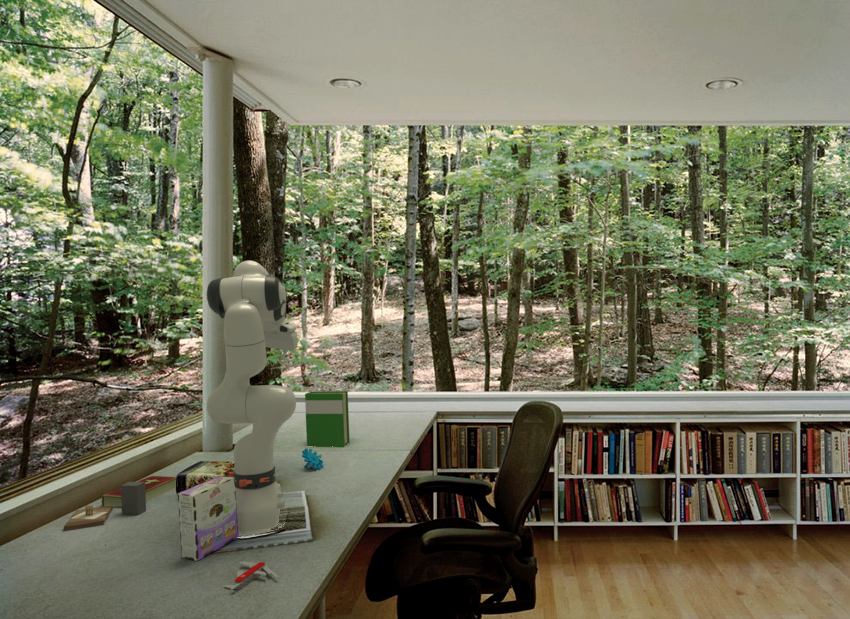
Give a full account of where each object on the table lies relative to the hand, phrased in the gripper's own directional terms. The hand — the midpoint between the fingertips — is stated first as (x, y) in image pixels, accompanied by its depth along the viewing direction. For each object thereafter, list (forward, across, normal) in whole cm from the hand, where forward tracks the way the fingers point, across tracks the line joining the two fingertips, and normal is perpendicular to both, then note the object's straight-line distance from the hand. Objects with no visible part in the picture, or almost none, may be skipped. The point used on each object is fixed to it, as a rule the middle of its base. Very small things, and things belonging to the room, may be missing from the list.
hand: (270, 358), depth 212 cm
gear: (+39, +24, -8) cm, 46 cm away
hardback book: (+46, +19, +27) cm, 56 cm away
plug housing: (+38, -17, -56) cm, 70 cm away
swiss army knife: (+22, +38, -93) cm, 103 cm away
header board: (+39, -28, -62) cm, 78 cm away
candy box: (+27, +21, -78) cm, 85 cm away
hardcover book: (+42, -25, -41) cm, 64 cm away
